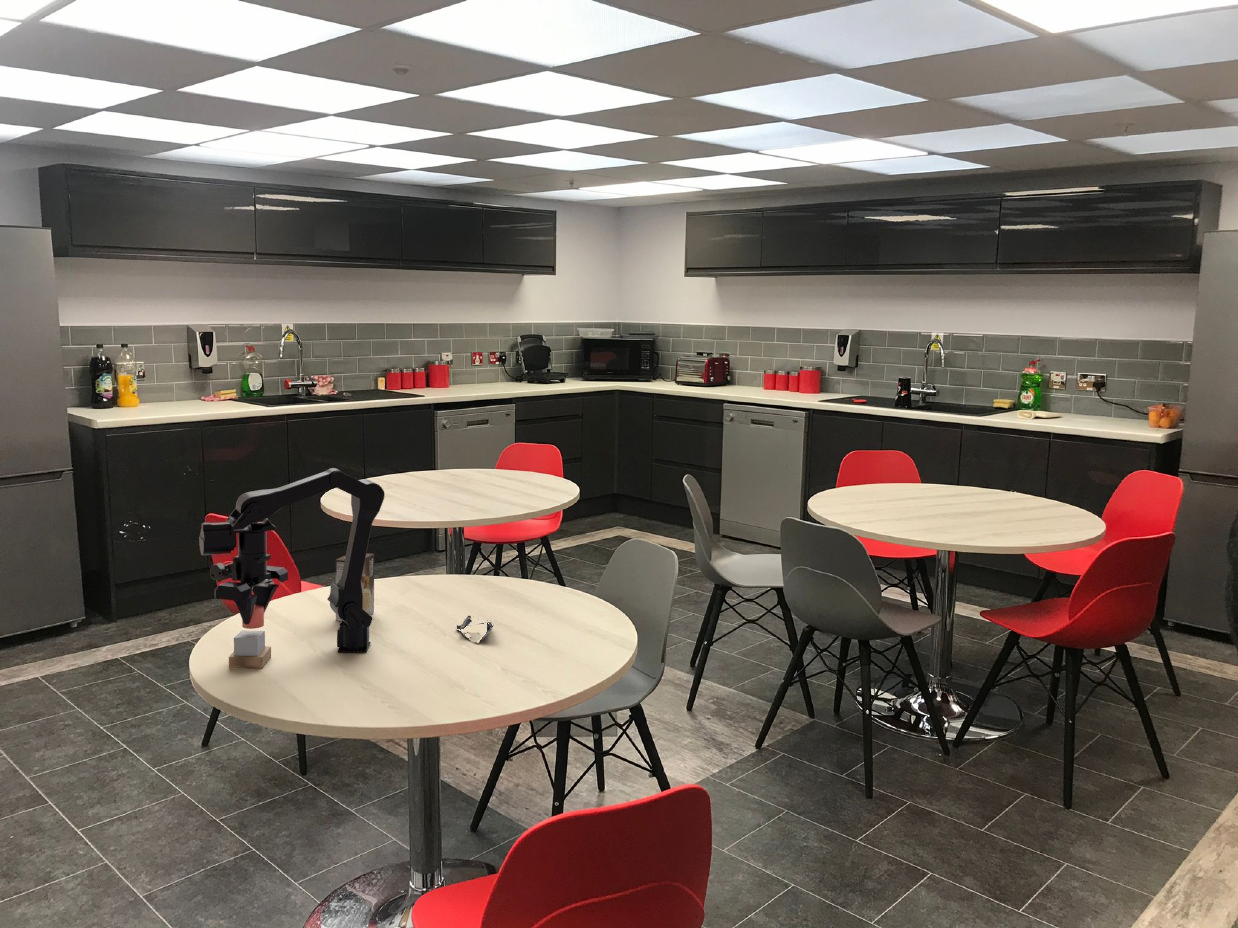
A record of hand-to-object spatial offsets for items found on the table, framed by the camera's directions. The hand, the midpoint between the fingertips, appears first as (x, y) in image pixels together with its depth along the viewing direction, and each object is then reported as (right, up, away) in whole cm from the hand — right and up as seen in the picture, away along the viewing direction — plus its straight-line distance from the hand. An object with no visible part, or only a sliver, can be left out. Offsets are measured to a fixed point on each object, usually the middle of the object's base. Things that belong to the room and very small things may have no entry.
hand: (253, 620), depth 203 cm
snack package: (+44, -9, +27) cm, 53 cm away
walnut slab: (-1, -10, +1) cm, 10 cm away
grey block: (-1, -7, +1) cm, 7 cm away
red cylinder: (0, -1, 0) cm, 1 cm away
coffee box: (+12, -5, +37) cm, 39 cm away
